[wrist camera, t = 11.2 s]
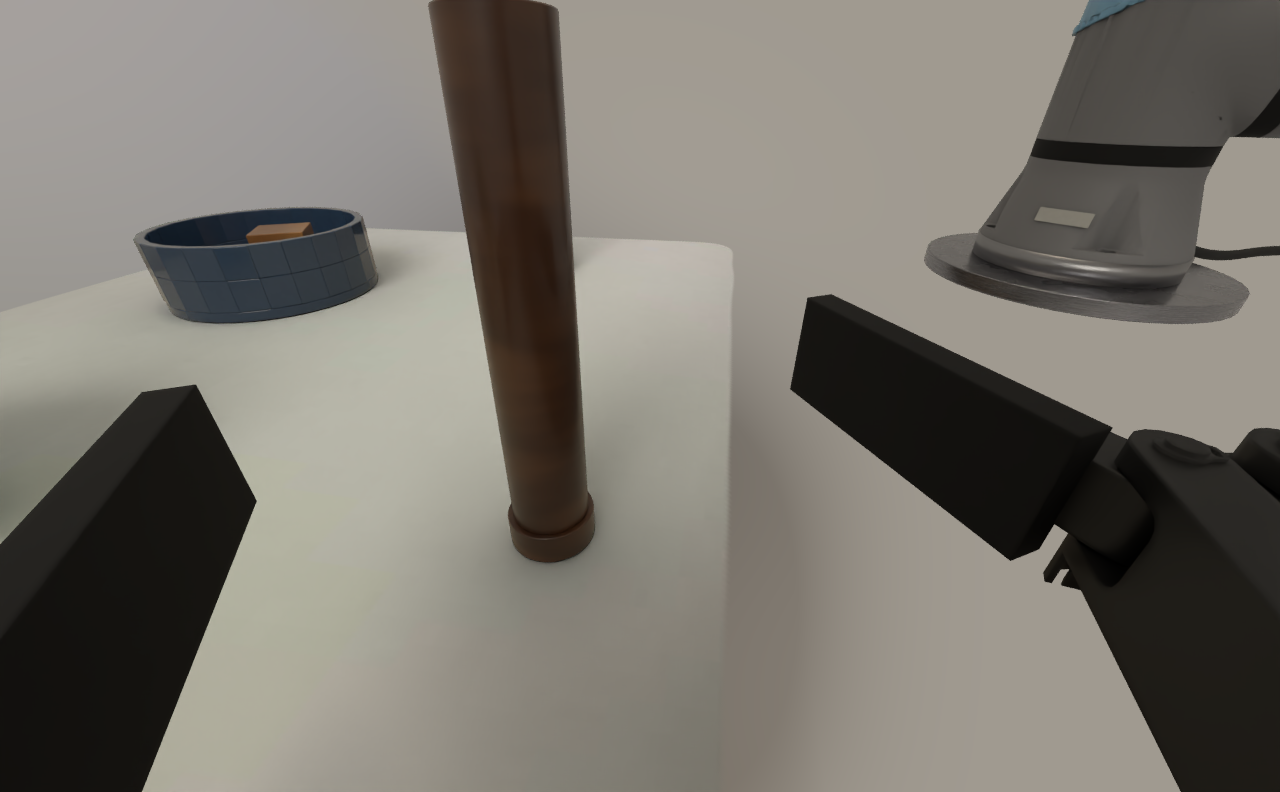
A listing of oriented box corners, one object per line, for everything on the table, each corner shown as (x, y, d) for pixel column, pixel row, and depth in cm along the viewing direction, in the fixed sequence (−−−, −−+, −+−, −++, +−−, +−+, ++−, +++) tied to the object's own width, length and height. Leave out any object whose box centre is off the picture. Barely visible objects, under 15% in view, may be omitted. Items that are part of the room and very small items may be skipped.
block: (324, 266, 46) (310, 222, 44) (317, 278, 43) (302, 231, 41) (275, 270, 45) (258, 225, 43) (264, 283, 42) (245, 235, 40)
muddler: (582, 493, 21) (550, 20, 13) (605, 548, 19) (583, 1, 10) (506, 512, 20) (417, 12, 12) (518, 573, 18) (417, -11, 9)
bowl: (383, 259, 52) (368, 203, 49) (372, 308, 39) (351, 238, 37) (207, 273, 47) (180, 212, 44) (133, 335, 35) (89, 256, 32)
